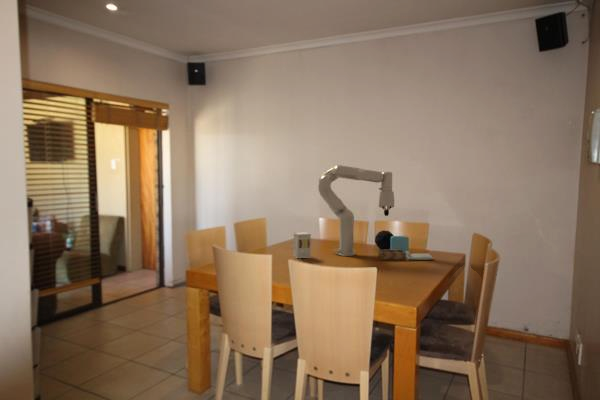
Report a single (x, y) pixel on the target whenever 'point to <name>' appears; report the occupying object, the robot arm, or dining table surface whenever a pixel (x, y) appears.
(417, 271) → the dining table surface
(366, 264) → the dining table surface
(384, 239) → the decorative orb
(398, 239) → the data package
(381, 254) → the box
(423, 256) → the cover plate
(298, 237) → the supplement box
